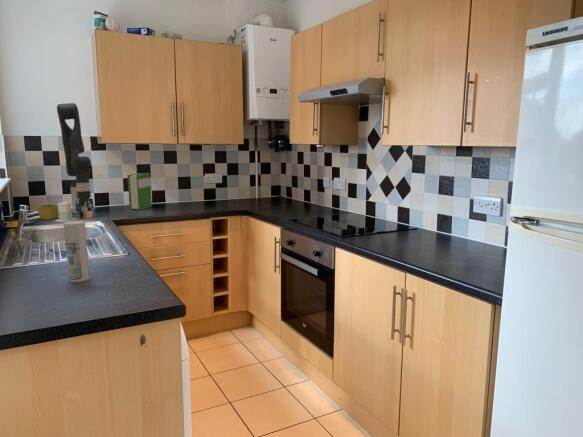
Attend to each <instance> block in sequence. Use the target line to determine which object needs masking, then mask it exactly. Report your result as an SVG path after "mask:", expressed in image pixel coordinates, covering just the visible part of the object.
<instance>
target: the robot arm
mask: <svg viewBox="0 0 583 437" xmlns="http://www.w3.org/2000/svg"><path fill="white" fill-rule="evenodd" d="M56 112H57V116H58V121H59V125H60V130H61V141H62V145H63V150H64V151H63V152H64V156H65V157H64V158H65V169H66V174H67V176H68V177H75V180H74V181H71V182H70V183H69V184H70V185H69V186H70V196H71V198H70V199H71V210H72V214H78V217H79V219H85V218H84V215H83V211H84V210H85V211H92V209H93V208H94V199H93V198H92V195H91V194H92V193H91V192H92V191H91V185H90V184H91V183H90V171H91V166H92V161H91V159H90V158H89V156H79V154H82V153H85V146H84V142H83V137H82V128H81V127H82V126H81V120H80V112H79V108H78V106H77V104H76V103H74V102H69V103H67V102H66V103H59V104H57V105H56ZM66 120H73V127H72V128H71V127H70V126H69V124H68V123H67V122H66Z"/></svg>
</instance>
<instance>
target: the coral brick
mask: <svg viewBox="0 0 583 437" xmlns="http://www.w3.org/2000/svg"><path fill="white" fill-rule="evenodd" d="M83 215H84V218H83V219H90V218H93V210H91V211H85V210H84V211H83Z"/></svg>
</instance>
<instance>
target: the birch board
mask: <svg viewBox="0 0 583 437" xmlns="http://www.w3.org/2000/svg"><path fill="white" fill-rule="evenodd" d="M77 219H79V218H78V217H72V219H70V220H59V218H57V219H53V222H70V221H76V220H77Z"/></svg>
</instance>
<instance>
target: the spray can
mask: <svg viewBox="0 0 583 437" xmlns="http://www.w3.org/2000/svg"><path fill="white" fill-rule="evenodd" d="M86 230H87V229H86V221H84V220H71V221H64V222H63V231H64V232H63V233H64V240H65V249H66V250H65V251H66V259H67V261H66V262H67V272H68V280H69V282H71V283H82V282H86V281H88V280H89V279H90V270H89V269H90V268H89V255H88V246H87V233H86V232H87V231H86Z"/></svg>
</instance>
